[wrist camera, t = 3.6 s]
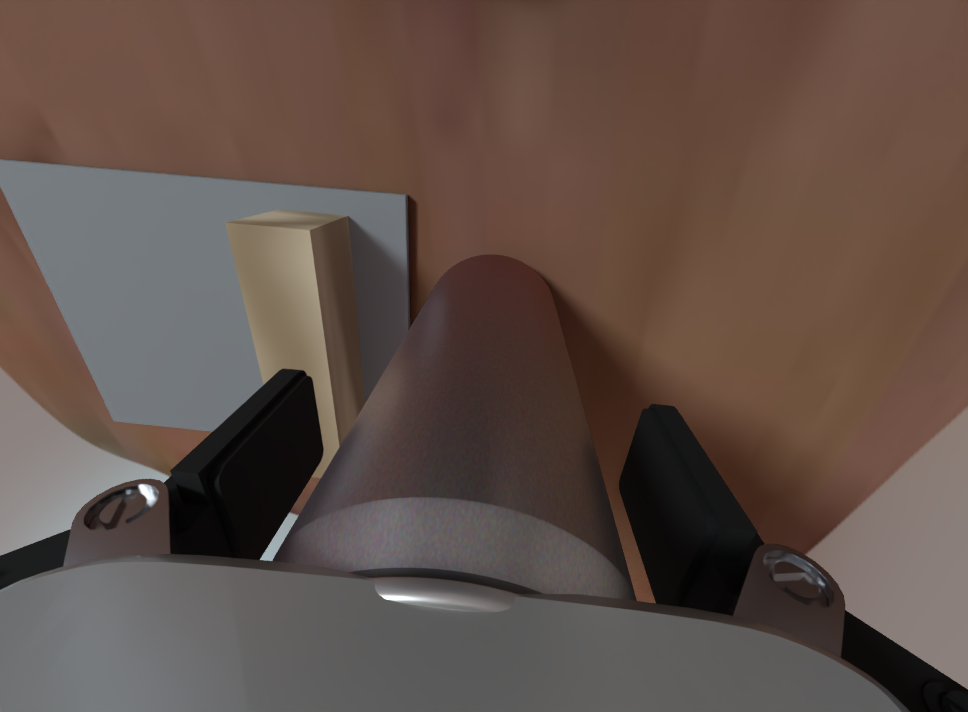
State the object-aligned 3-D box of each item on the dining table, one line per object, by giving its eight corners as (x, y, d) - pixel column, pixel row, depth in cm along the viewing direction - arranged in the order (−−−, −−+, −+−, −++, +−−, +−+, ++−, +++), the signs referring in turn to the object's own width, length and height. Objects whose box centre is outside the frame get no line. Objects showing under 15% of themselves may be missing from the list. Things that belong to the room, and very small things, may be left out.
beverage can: (569, 346, 19) (698, 791, 6) (460, 380, 20) (361, 802, 7) (531, 230, 16) (602, 542, 3) (409, 278, 18) (114, 632, 5)
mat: (407, 194, 16) (405, 195, 16) (412, 447, 23) (411, 452, 22) (-2, 158, 17) (-13, 159, 16) (119, 417, 23) (113, 421, 23)
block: (348, 215, 16) (309, 230, 13) (367, 434, 22) (344, 480, 19) (279, 209, 16) (225, 222, 13) (316, 429, 22) (284, 474, 19)
